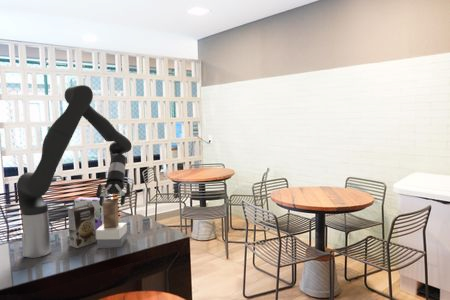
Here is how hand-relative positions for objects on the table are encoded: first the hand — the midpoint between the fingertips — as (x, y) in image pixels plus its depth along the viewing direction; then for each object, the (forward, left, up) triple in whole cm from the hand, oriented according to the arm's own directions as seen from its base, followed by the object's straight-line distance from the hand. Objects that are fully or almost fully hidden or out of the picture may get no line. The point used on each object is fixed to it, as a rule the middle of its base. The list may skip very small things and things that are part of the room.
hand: (111, 205), depth 153 cm
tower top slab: (0, -1, -13) cm, 13 cm away
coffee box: (-13, 0, -17) cm, 21 cm away
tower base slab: (0, -1, -17) cm, 17 cm away
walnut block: (0, -1, -9) cm, 9 cm away
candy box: (-14, +16, -17) cm, 27 cm away
